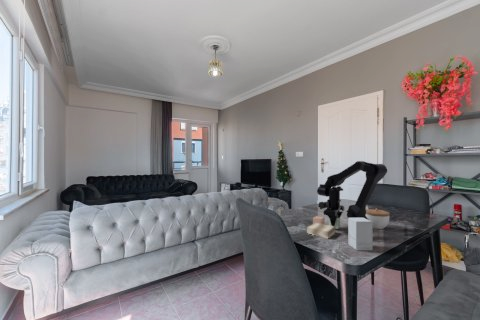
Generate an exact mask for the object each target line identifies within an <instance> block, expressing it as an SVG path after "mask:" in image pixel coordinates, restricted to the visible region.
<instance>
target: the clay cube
mask: <svg viewBox="0 0 480 320" xmlns="http://www.w3.org/2000/svg"><path fill="white" fill-rule="evenodd" d="M314 223H319V224H324V225H325V216H317V215H316V216H314V217H312V224H314Z"/></svg>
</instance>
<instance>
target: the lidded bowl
mask: <svg viewBox="0 0 480 320" xmlns="http://www.w3.org/2000/svg"><path fill="white" fill-rule="evenodd" d="M365 216H366V217H367V218H368V219H369V220H370V221H372V229H376V230H384V228H386V227H387V226H388V225H389V223H390V212H389V211H386V210H382V209H378V208H377V207H376V208H375V209H373V208H369V209H367V208H366V215H365Z"/></svg>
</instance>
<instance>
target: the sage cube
mask: <svg viewBox="0 0 480 320" xmlns="http://www.w3.org/2000/svg"><path fill="white" fill-rule="evenodd" d="M327 220H328V224H327V225H330V226H332V225H331V222H330V218H329V217H328V219H327ZM334 226H335V230H338V229H340V228H341V217H340V218H337V220H336V222H335V225H334Z"/></svg>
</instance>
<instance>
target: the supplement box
mask: <svg viewBox="0 0 480 320" xmlns="http://www.w3.org/2000/svg"><path fill="white" fill-rule="evenodd" d="M347 223H348V225H347V226H348V229H347V230H348V231H347V232H348V235H347V236H348V242H347V243H348V245H349V246H350V247H351V248H352V249H354V250H356V251H373V228H372V221H370V220H367V219H365V218H348V217H347Z"/></svg>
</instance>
